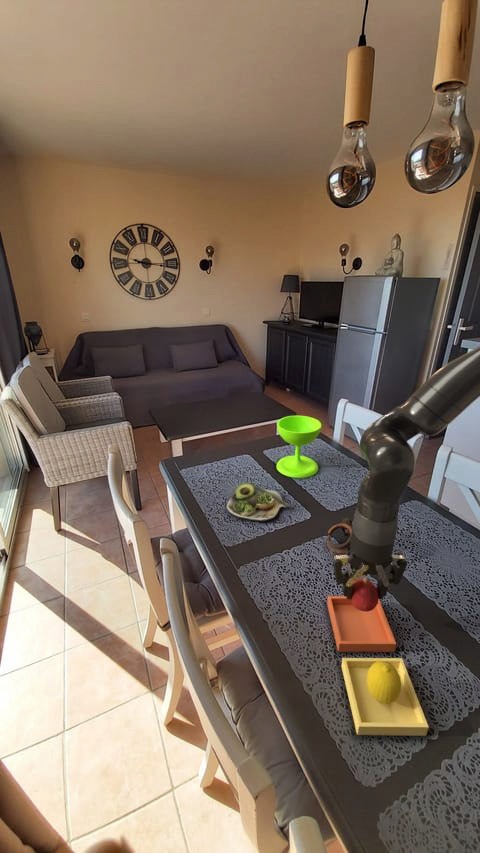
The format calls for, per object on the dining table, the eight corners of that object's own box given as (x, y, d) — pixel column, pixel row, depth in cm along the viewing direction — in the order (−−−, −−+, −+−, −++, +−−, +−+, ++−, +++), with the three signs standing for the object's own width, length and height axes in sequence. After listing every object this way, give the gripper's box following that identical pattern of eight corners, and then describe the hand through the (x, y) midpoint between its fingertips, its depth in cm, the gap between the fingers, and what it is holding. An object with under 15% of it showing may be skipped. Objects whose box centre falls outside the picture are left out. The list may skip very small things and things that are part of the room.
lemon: (397, 718, 61) (405, 689, 58) (363, 706, 63) (368, 678, 59) (397, 686, 66) (403, 657, 62) (365, 675, 67) (370, 647, 64)
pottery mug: (369, 564, 93) (357, 546, 89) (334, 569, 98) (322, 552, 94) (365, 525, 102) (355, 508, 99) (333, 531, 107) (322, 514, 103)
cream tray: (400, 666, 69) (402, 658, 68) (426, 735, 59) (428, 727, 58) (341, 666, 70) (342, 657, 69) (357, 735, 59) (358, 726, 58)
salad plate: (295, 496, 121) (295, 484, 119) (281, 529, 106) (281, 517, 104) (241, 485, 127) (240, 474, 126) (221, 516, 112) (220, 504, 110)
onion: (382, 615, 73) (387, 587, 70) (357, 623, 72) (361, 594, 68) (365, 593, 78) (369, 565, 75) (341, 600, 77) (345, 572, 73)
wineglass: (268, 470, 137) (268, 426, 129) (288, 453, 149) (289, 412, 141) (307, 482, 128) (310, 437, 121) (325, 463, 140) (328, 420, 133)
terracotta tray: (376, 604, 82) (377, 596, 81) (394, 652, 72) (396, 643, 71) (327, 603, 82) (327, 596, 81) (338, 652, 72) (339, 643, 71)
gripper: (339, 544, 63) (331, 611, 70) (422, 544, 63) (406, 611, 70) (330, 517, 70) (324, 581, 77) (405, 516, 70) (392, 580, 77)
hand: (363, 595), depth 73 cm, fingers closed on onion, 5 cm apart
